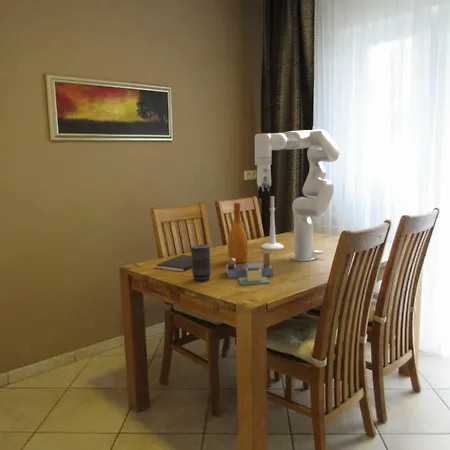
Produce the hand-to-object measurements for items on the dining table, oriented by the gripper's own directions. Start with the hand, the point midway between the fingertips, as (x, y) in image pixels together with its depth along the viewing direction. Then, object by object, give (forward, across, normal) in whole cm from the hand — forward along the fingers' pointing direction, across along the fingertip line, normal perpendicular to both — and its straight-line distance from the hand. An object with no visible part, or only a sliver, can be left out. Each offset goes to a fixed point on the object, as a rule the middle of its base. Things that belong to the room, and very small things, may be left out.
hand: (263, 199), depth 204 cm
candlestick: (+34, +48, -14) cm, 60 cm away
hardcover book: (+34, +17, +38) cm, 54 cm away
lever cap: (+32, -18, +8) cm, 38 cm away
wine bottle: (+34, +18, +10) cm, 39 cm away
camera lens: (+34, -12, +30) cm, 47 cm away
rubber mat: (+33, -18, +8) cm, 39 cm away
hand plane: (+33, -6, +8) cm, 35 cm away
